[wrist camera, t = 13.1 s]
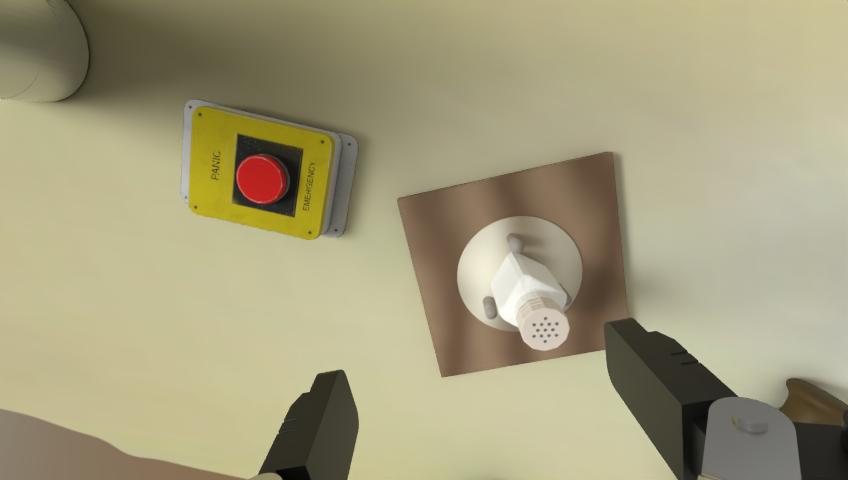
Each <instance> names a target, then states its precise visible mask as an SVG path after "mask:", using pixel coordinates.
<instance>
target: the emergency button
mask: <svg viewBox="0 0 848 480" xmlns="http://www.w3.org/2000/svg"><path fill="white" fill-rule="evenodd" d="M357 154H358V143H357V141H356V140H355V139H354V137H352V136H350V135H347V134H343V133H339V132H335V131H330V130H326V129H322V128H317V127H313V126H309V125H305V124H300V123H296V122H292V121H288V120H283V119H279V118H275V117H270V116H266V115H262V114H258V113H253V112H249V111H245V110H240V109H236V108H232V107H228V106H223V105H219V104H215V103H210V102H206V101H202V100H190V101H188V102H187V103H186V104H185V107H184V121H183V145H182V169H181V192H180V193H181V197H182V199H183V200H184V201H185V202H186V203H187V204H188V205H189V208H190V210H191V211H192V212H193V213H195V214H197V215H201V216H205V217H210V218H214V219H219V220H223V221H227V222H232V223H236V224H241V225H245V226H250V227H254V228H258V229H263V230H267V231H272V232H276V233H280V234H285V235H289V236H294V237H298V238H303V239H307V240H312V239H316V238H317V237H319V236H320V235H323V236H327V237H338V236H340V235H342V233H343V232H344V230H345V224H346V218H347V212H348V206H349V200H350V195H351V189H352V183H353V177H354V171H355V166H356V160H357Z"/></svg>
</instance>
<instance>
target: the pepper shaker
mask: <svg viewBox="0 0 848 480" xmlns="http://www.w3.org/2000/svg"><path fill="white" fill-rule="evenodd" d="M491 289H492V292H493V296H494V299H495V302H496V305H497V309H498V312H499V315H500V316H501V317H502V318H503V320H505V321H507V322H509V323H510V324H512V325H514V326H516V327H518V328H519V330H520V333H521V335H522V338H523V341H524V342H525V343H526V344H528V345H529V346H530V347H531V348H532V349H537V350H542V351H547V350H551V349H554V348H557V347H558V346H560V345H561V344H562V343H563V342H564V341H565V340H566V339H567V336H568V333H569V330H570V327H569V323H568V319H567V317H566V315H565V314H564V312H563V311H562V310H563V308H564V306H565V304H566V300H567V295H566V293H565V292H564V290H563V289H562V288H561V286H560V285H559V284H558V282H557V281H556V279H555V278H554V277H553V275H552V274H551V273H550V271H549V270H548V269H547V268H546V266H544V265H542V264H540V263H538V262H536V261H534V260H532V259H530V258H527V257H525V256H523V255H521V254H519V253H515V252H510V253H509V254H508V255H507V257H506V258H505V260H504V262H503V263H502V265H501V267H500V269H499V270H498V272H497V274H496V275H495V277H494V279H493V281H492V282H491Z"/></svg>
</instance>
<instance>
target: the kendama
mask: <svg viewBox="0 0 848 480" xmlns="http://www.w3.org/2000/svg"><path fill="white" fill-rule="evenodd" d="M786 385H787V388H788V390H789V395H788V398H787V400H786V402H785V404H784V405H783V407H782V408H781V409H780V410H779V411H781V412H782V413H783V414H785V415H786V416H787V417H788V418H789V419H790V420H791V421H793V422H801V423H813V424H826V425H840V426H842V419H843V414H844V412H845V411H846V410H847V409H848V405H847V404H845V403H844V402H842V401H841V400H839V399H837V398H836V397H834V396H832V395H831V394H829V393H827V392H826V391H824V390H822V389H819V388H817V387H815V386H813V385H811V384H809V383H807V382H804V381H800V380H796V379H788V380H787V381H786Z"/></svg>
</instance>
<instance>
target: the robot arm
mask: <svg viewBox="0 0 848 480" xmlns="http://www.w3.org/2000/svg"><path fill="white" fill-rule="evenodd" d="M88 62H89V51H88V44H87V39H86V36H85V33H84V30H83V27H82V25H81V23H80V21H79V19H78V17H77V15H76V14H75V13H74V11H73V10H72V9H71V7H70V6H69V5H68V3H67V2H66V1H65V0H0V99H6V100H24V101H42V102H51V101H58V100H62V99H65V98H66V97H68V96H70V95H72V94H73V93H74V92H75V91H76V90H77V89H78V88H79V87H80V86H81V84H82V82H83V80H84V78H85V76H86V73H87V69H88ZM604 338H605V349H606V360H607V369H608V373H609V376H610V379H611V382H612V384H613V386H614V388H615V389H616V391H617V392H618V394H619V395H620V397H621V398H622V400H623V401H624V402H625V404H626V405H627V407H628V408H629V410H630V411H631V413H632V414H633V415H634V417H635V418H636V420H637V421H638V423H639V424H640V425H641V427H642V428H643V430H644V431H645V433H646V434H647V436H648V437H649V438H650V440H651V441H652V443H653V444H654V446H655V447H656V449H657V450H658V451H659V453H660V454H661V456H662V457H663V459H664V460H665V462H666V463H667V464H668V466H669V467H670V469H671V470H672V472H673V473H674V474H675V476H676V477H677V479H678V480H848V409H847V410H846V411H845V412H844V414H843V419H842V426H840V425H826V424H813V423H801V422H793V421H791V420H790V419H789V418H788V417H787V416H786V415H785V414H783V413H782V412H781V411H779V410H778V409H776V408H774V407H772V406H770V405H768V404H766V403H763V402H760V401H757V400H753V399H749V398H743V397H738V396H737V395H736V394H735V393H734V392H733V391H732V390H730V389H729V388H728V387H727V386H726V385H725V384H724V383H723V382H722V381H720V380H719V379H718V378H717V377H716V376H715V375H714V374H713V373H711V372H710V371H709V370H708V369H707V368H706V367H705V366H704V365H702V364H701V363H699V362H698V360H697V359H696V358H695V357H694V356H692V355H691V354H690V353H688V352H687V350H686V349H685V348H683V347H682V346H681V345H680V344H679V343H678V342H677V341H676V340H675V339H672V338H670V337H668V336H666V335H664V334H661V333H659V332H657V331H654V332H647V331H646V330H645V329H644V328H643V327H642V326H641V325H640V324H639V323H638V322H637V321H636V320H635V319H633V318H626V319H620V320H615V321H609V322H605V324H604ZM358 428H359V420H358V412H357V408H356V405H355V402H354V399H353V396H352V393H351V389H350V386H349V383H348V380H347V377H346V374H345V372H344V371H343V370H336V371H330V372H325V373H319V374H318V375H317V376H316V378H315V381H314V383H313V385H312V387H311V390H310V392H307V393H303V394H302V395H301V396H300V397H299V398H298V399H297V400H296V401H295V402H294V403H293V404H292V405H291V407H290V409H289V411H288V413H287V415H286V417H285V419H284V423H282V426H281V428H280V430H279V434H277V436H276V438H275V440H274V442H273V444H272V446H271V448H270V451H269V453H268V455H267V457H266V459H265V461H264V463H263V465H262V467H261V469H260V471H259V474H258V475H257V476H254V477H252V478H250V479H249V480H347V478H348V474H349V470H350V465H351V461H352V456H353V452H354V447H355V443H356V438H357V434H358Z"/></svg>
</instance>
